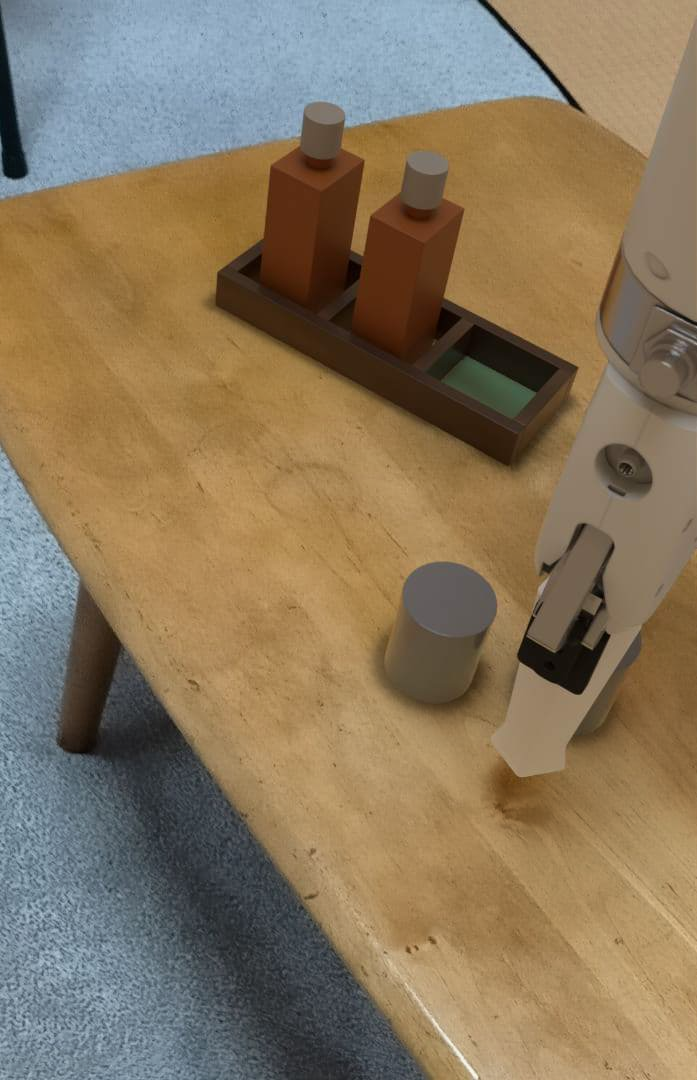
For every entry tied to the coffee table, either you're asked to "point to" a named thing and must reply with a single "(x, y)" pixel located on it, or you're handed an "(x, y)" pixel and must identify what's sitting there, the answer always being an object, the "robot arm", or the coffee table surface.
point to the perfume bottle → (554, 706)
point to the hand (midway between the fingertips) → (579, 631)
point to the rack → (451, 404)
